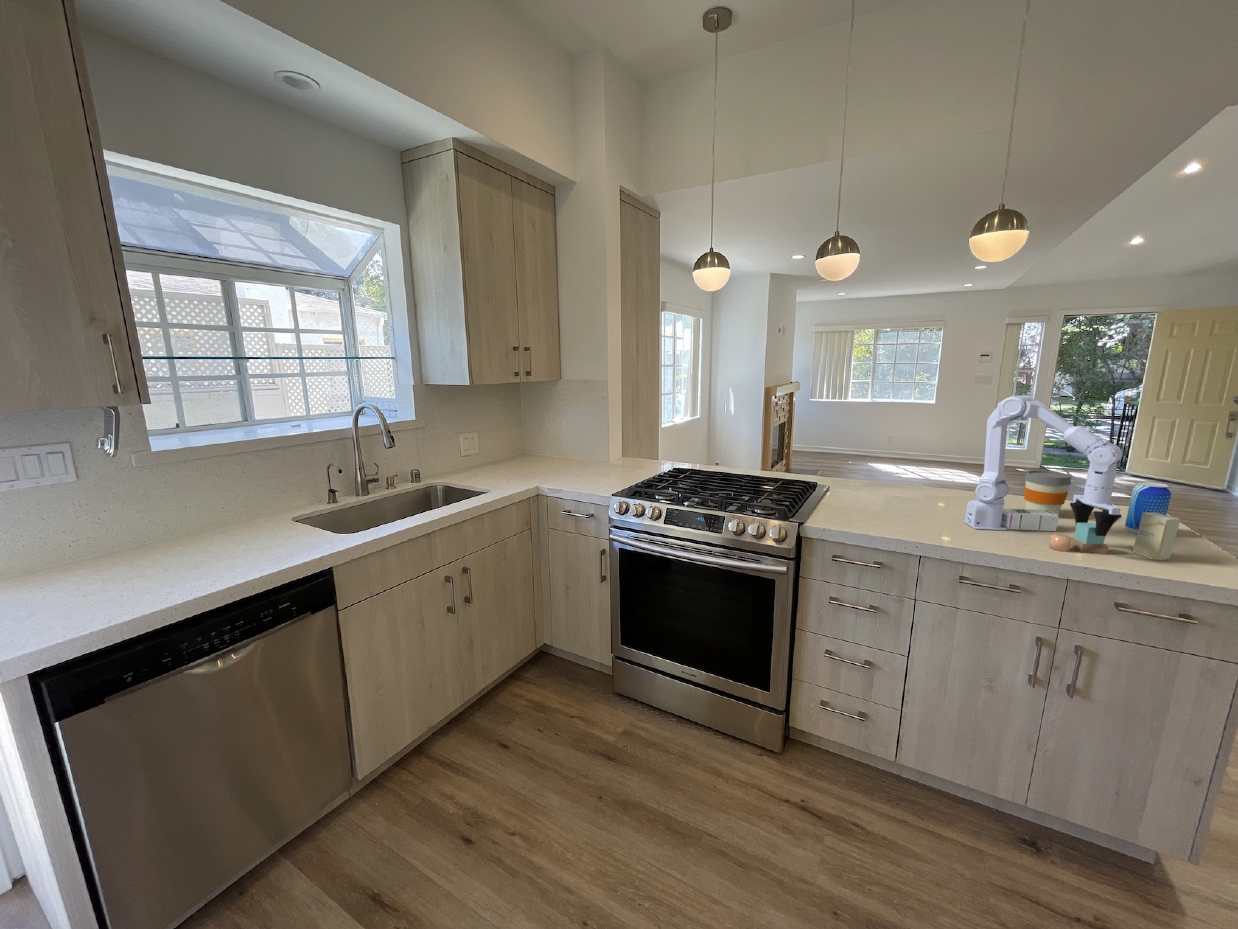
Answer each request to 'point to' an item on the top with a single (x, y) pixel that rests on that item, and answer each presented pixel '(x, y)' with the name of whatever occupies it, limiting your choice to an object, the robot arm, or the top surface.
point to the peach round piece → (1060, 542)
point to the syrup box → (1029, 519)
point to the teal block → (1088, 534)
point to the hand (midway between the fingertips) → (1090, 531)
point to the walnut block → (1088, 547)
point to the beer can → (1146, 502)
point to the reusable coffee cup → (1046, 490)
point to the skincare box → (1156, 535)
